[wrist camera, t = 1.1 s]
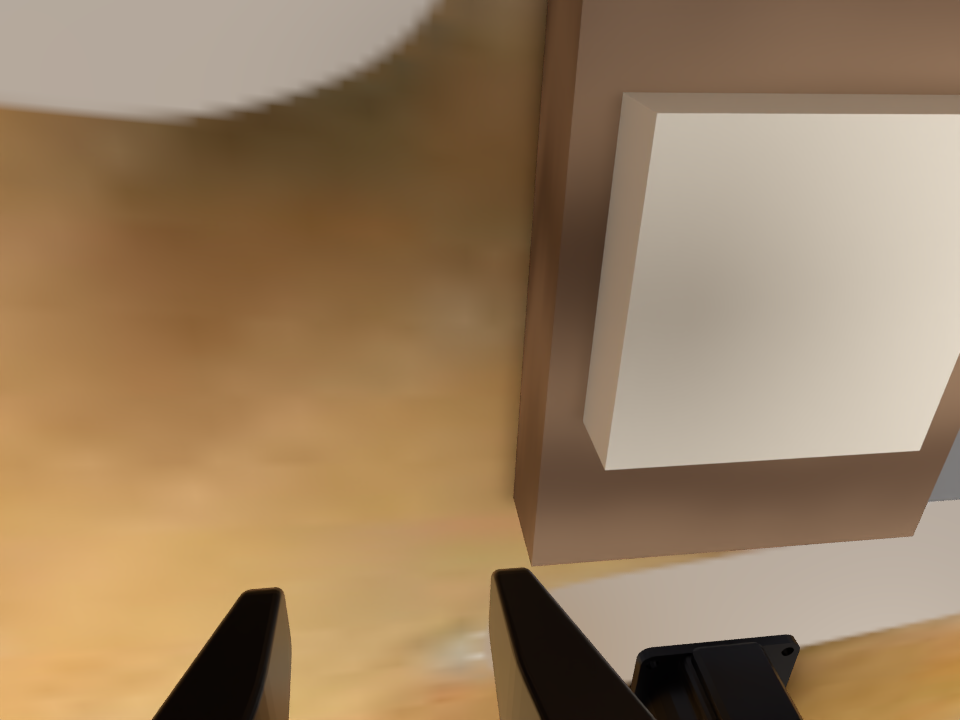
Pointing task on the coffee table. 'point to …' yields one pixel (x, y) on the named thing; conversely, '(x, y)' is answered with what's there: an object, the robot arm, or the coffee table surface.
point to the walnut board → (579, 254)
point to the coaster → (776, 277)
